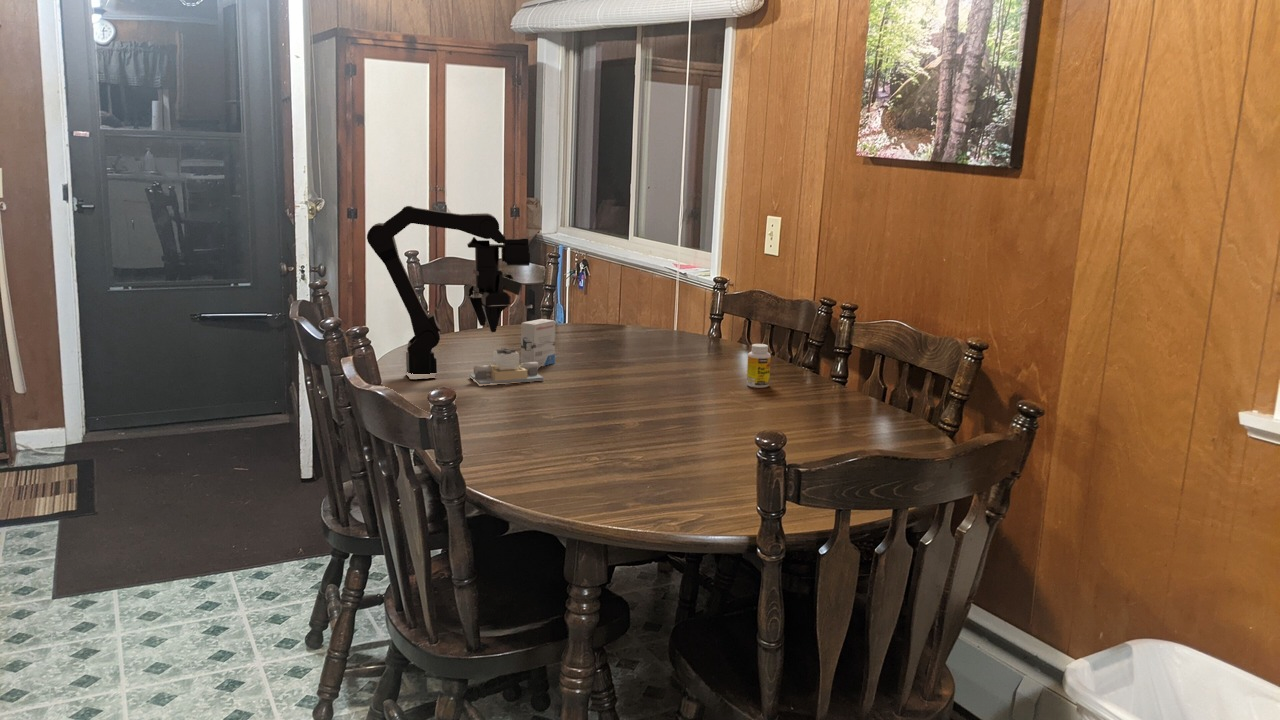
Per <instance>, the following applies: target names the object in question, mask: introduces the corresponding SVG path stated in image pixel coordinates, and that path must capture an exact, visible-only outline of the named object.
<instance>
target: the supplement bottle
mask: <svg viewBox="0 0 1280 720" xmlns="http://www.w3.org/2000/svg"><path fill="white" fill-rule="evenodd" d="M768 350H769V346H768V344H765V343H754V344H751V351H750V352H748V354H747V367H746V368H747V369H746V385H747V386H748V387H750V388H754V389H755V388H756V389H759V388H760V389H764V388H767V387H769V385H770V376H771V375H770V374H771V360H772V359H771V358H772V357H771V353H770V352H769V351H768Z"/></svg>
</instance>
